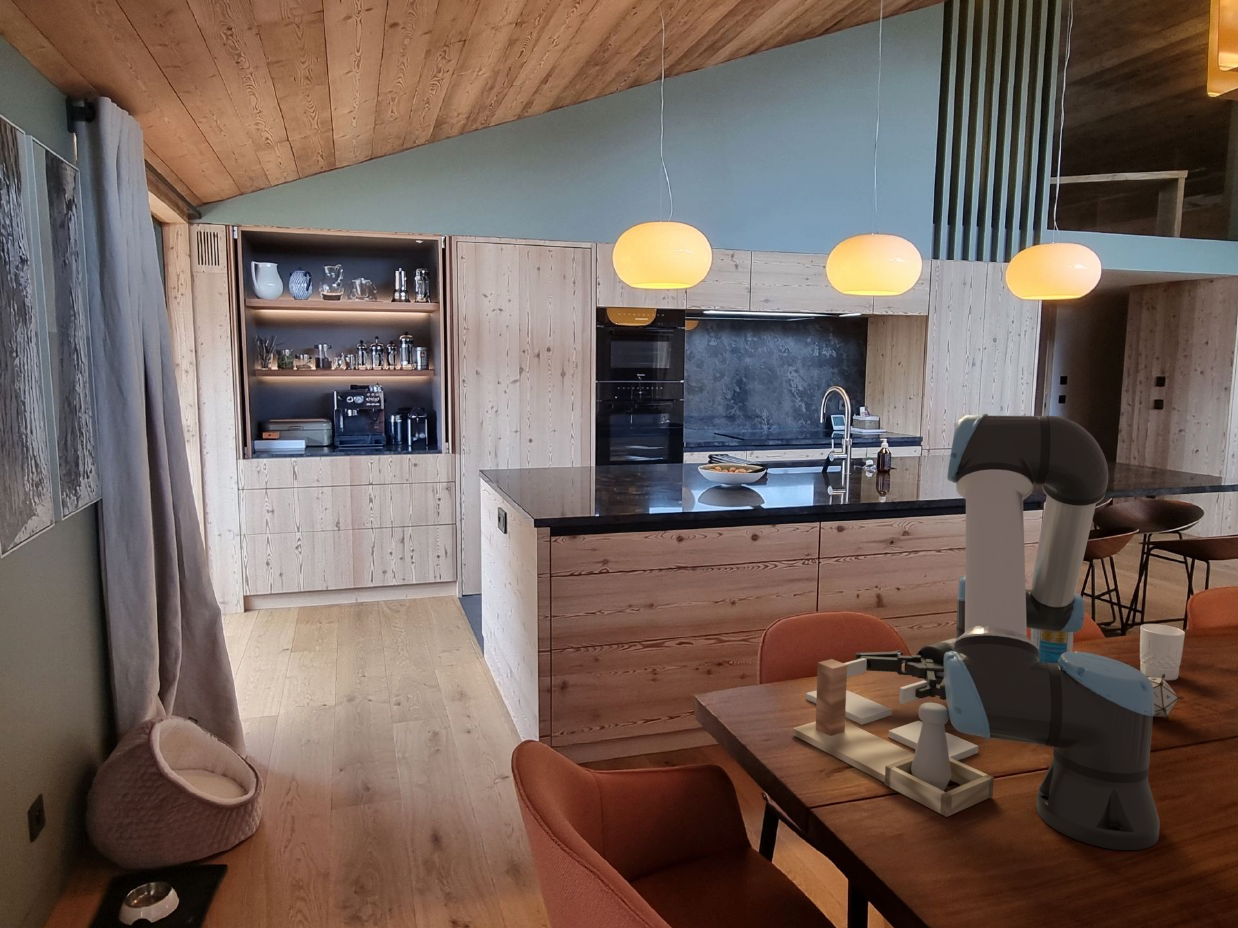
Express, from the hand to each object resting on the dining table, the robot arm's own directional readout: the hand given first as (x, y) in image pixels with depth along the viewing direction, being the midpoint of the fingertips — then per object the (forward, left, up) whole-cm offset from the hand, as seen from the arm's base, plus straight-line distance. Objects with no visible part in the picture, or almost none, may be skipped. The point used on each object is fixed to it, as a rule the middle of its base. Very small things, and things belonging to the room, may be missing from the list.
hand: (869, 683), depth 148 cm
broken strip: (-1, -4, -8) cm, 9 cm away
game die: (-25, -48, -8) cm, 55 cm away
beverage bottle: (-1, -56, -8) cm, 57 cm away
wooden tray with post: (-12, +10, -8) cm, 17 cm away
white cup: (-15, -74, -8) cm, 75 cm away
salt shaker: (-20, +9, -8) cm, 24 cm away
